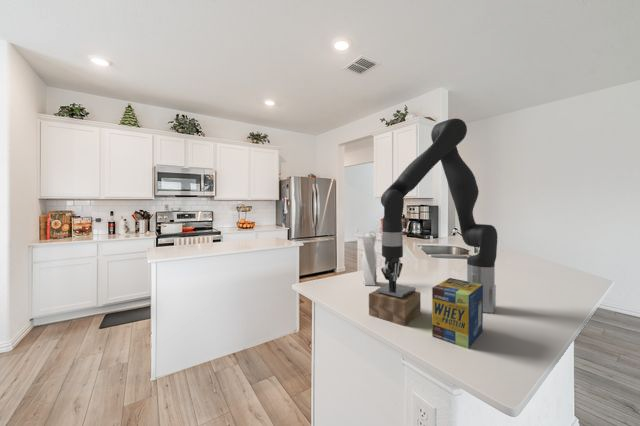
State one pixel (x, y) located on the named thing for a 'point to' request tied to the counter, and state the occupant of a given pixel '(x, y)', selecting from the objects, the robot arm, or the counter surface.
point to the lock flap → (397, 290)
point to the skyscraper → (369, 260)
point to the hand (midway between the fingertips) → (392, 290)
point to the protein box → (457, 311)
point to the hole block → (395, 307)
